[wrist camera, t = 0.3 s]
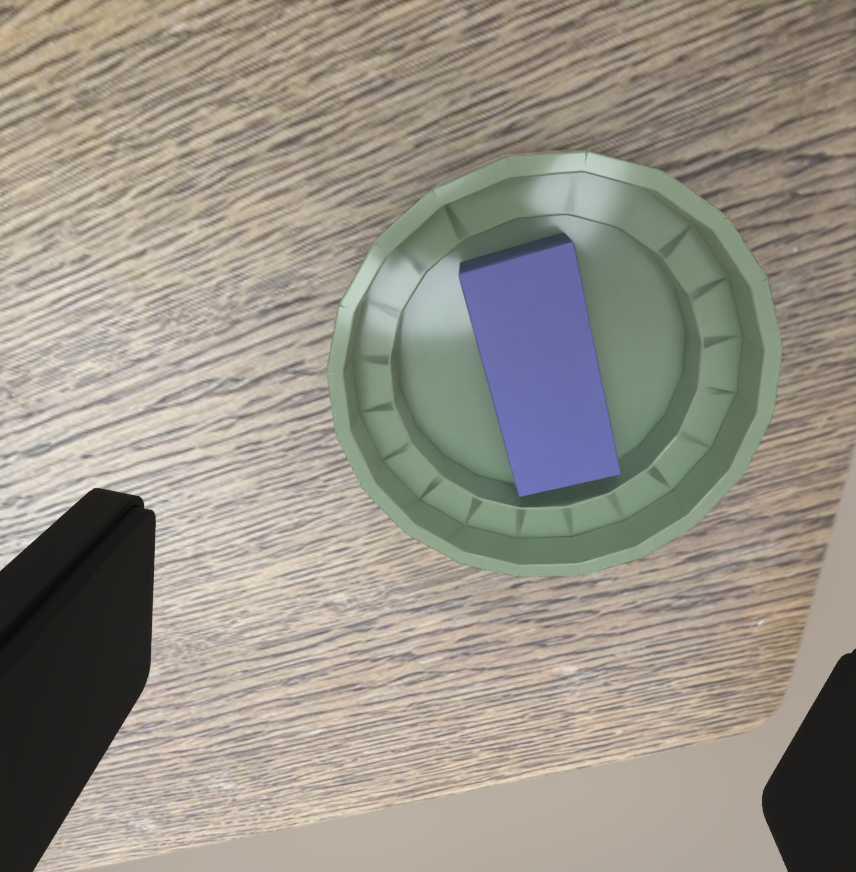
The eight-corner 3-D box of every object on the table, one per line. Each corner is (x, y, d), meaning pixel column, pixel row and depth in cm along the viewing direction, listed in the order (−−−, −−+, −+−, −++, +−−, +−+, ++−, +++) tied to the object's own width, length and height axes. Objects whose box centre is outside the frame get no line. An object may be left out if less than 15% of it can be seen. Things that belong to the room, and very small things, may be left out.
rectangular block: (459, 262, 25) (457, 274, 23) (564, 231, 24) (573, 241, 22) (515, 469, 28) (518, 497, 26) (609, 447, 28) (621, 475, 26)
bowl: (394, 102, 24) (377, 94, 20) (802, 210, 24) (868, 225, 20) (322, 472, 30) (297, 524, 26) (647, 551, 30) (674, 615, 26)
